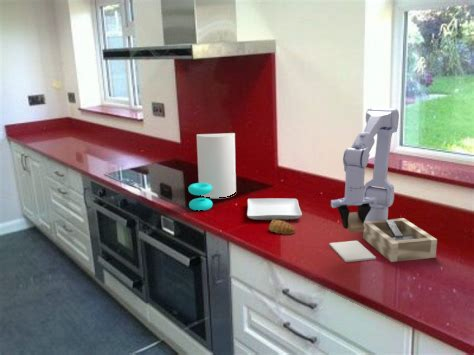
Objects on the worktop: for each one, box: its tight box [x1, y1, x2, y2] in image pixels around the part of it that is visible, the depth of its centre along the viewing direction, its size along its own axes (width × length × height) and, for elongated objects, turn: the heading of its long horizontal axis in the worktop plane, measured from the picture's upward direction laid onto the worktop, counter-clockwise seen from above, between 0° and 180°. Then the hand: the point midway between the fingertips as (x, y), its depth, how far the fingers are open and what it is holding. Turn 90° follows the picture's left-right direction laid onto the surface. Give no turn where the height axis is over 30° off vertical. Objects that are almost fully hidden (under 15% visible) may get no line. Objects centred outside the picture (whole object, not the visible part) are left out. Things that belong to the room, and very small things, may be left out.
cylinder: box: [196, 132, 237, 199], centre depth 218 cm, size 17×17×28 cm
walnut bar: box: [347, 211, 365, 234], centre depth 151 cm, size 7×4×2 cm, turn 10°
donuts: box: [187, 182, 214, 212], centre depth 200 cm, size 10×10×10 cm
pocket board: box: [362, 217, 438, 263], centre depth 156 cm, size 20×15×6 cm
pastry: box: [268, 220, 296, 235], centre depth 173 cm, size 9×7×4 cm
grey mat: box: [328, 240, 377, 263], centre depth 154 cm, size 14×10×1 cm
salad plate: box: [246, 197, 303, 221], centre depth 192 cm, size 21×21×3 cm
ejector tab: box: [386, 219, 416, 241], centre depth 155 cm, size 14×10×2 cm
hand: (352, 226), depth 152 cm, fingers closed on walnut bar, 4 cm apart
